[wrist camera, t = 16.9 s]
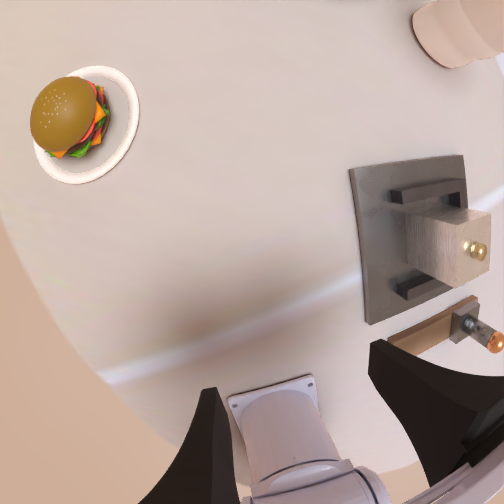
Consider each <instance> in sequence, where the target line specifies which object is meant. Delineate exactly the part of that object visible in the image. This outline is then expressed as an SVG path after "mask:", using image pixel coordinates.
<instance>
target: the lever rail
mask: <svg viewBox="0 0 504 504" xmlns="http://www.w3.org/2000/svg"><path fill="white" fill-rule="evenodd" d="M471 301H475V302H477V303H478V298H477V297H475V296H474V295H472V296H470V297H468V298H466V299H465V300H463V301H461V302H459V303H458V304H456V305H454V306H452V307H450V308H449V309H447V310H445V311H443V312H441V313H439V314H437V315H435V316H433V317H431V318H429V319H427V320H425V321H423V322H421V323H419V324H417V325H415V326H413V327H411V328H409V329H407V330H404V331H402V332H400V333H398V334H396V335H393V336H391V337H389V338H388V342H389V343H391V344H392V345H394V346H396V347H398V348H400V349H402V350H404V351H406V352H408V353H410V354H412V355H414V356H416V355H418V354H420V353H422V352H424V351H426V350H428V349H429V348H431V347H433V346H435V345H437V344H438V343H440V342H442V341H444V340H445V339H447V338H449V337H450V332H451V325H452V318H453V312H454V311H456V310H457V309H459V308H461V307H463V306H464V305H466V304H468V303H469V302H471Z"/></svg>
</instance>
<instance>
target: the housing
mask: <svg viewBox="0 0 504 504" xmlns="http://www.w3.org/2000/svg"><path fill="white" fill-rule="evenodd" d="M405 223H406V237H407V259H408V265H409V266H412V267H414V268H416V269H418V270H420V271H422V272H424V273H426V274H428V275H430V276H432V277H434V278H436V279H438V280H440V281H442V282H444V283H446V284H447V285H449V286H451V287H453V288H457V287H459V286H461V285H463V284H465V283H467V282H469V281H471V280H472V279H474V278H476V277H478V276H480V275H482V274H483V273H485V272H487V271H489V261H490V244H491V214H489V213H485V212H480V211H476V210H471V209H466V208H461V207H456V206H451V205H445V204H437V205H433V206H429V207H425V208H421V209H417V210H413V211H409V212H405Z"/></svg>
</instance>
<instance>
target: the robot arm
mask: <svg viewBox="0 0 504 504" xmlns="http://www.w3.org/2000/svg"><path fill="white" fill-rule="evenodd" d="M368 375H369V377H370V378H371V380H372V382H373V384H374V386H375V388H376V390H377V391H378V392H379V394H380V395H381V397H382V398H383V399H384V401H385V402H386V403H387V405H388V406H389V407H390V409H391V410H392V411H393V413H394V414H395V415H396V417H397V418H398V420H399V421H400V423H401V424H402V426H403V427H404V429H405V431H406V433H407V435H408V436H409V438H410V440H411V442H412V444H413V446H414V448H415V450H416V452H417V455H418V457H419V459H420V462H421V464H422V466H423V469H424V472H425V474H426V477H427V480H428V483H429V486H430V488H429V489H427V490H426V491H424V492H422V493H421V494H419V495H417V496H415V497H414V498H412V499H410V500H408V501H406V502H404V503H402V504H430V503H432V502H433V501H435V500H437V499H438V498H440V497H441V496H443V495H444V494H446V493H447V492H449V493H447V494H446V495H445V496H443V497H442V498H441V499H439V500H438V501H436V502H435V503H434V504H485V503H487V502H488V501H489V500H490V499H491V498H492V497H493V496H494V495H495V494H497V493H498V492H499V491H500V490H501V489H502V488H503V487H504V376H480V375H473V374H467V373H462V372H457V371H453V370H450V369H447V368H443V367H440V366H438V365H435V364H432V363H430V362H427V361H425V360H423V359H420V358H418V357H416V356H414V355H412V354H410V353H408V352H406V351H404V350H402V349H400V348H398V347H396V346H394V345H392V344H391V343H389V342H387V341H385V340H383V339H379V340H377V341H374V342H372V343H370V354H369V367H368ZM309 383H311V384H309ZM308 384H309V385H308ZM228 404H229V407H230V409H231V411H232V414H233V416H234V419H235V421H236V423H237V425H238V428H239V430H240V432H241V434H242V437H243V439H244V441H245V446H246V451H247V457H248V462H249V467H250V472H251V477H252V482H253V484H251V485H250V487H251V492H252V496H253V499H252V497H251V496H248V497H243V499H242V501H241V502H240V501H239V497H238V492H237V487H236V482H235V476H234V465H233V452H232V438H231V430H230V425H229V420H228V415H227V412H226V410H225V407H224V405H223V403H222V400H221V398H220V395H219V393H218V390H217V387H213V388H208V389H203V390H202V391H201V394H200V398H199V402H198V405H197V409H196V412H195V415H194V418H193V420H192V423H191V426H190V428H189V431H188V433H187V435H186V437H185V440H184V442H183V444H182V446H181V448H180V450H179V452H178V454H177V455H176V457H175V459H174V461H173V462H172V464H171V465H170V467H169V468H168V470H167V471H166V473H165V474H164V475H163V477H162V478H161V479H160V481H159V482H158V483H157V484H156V485H155V487H154V488H153V489H152V490H151V491H150V492H149V494H148V495H147V496H145V498H143V499H142V500H141V501H140V502H139V503H138V504H391V501H390V497H389V494H388V492H387V489H386V487H385V485H384V483H383V482H382V480H381V479H380V478H379V476H378V475H377V474H376V473H375V472H374V471H372V470H370V469H367V468H366V467H363V466H359V467H356V468H354V467H353V465H352V463H351V461H350V460H349V459H345V460H342V459H341V457H340V455H339V453H338V451H337V449H336V447H335V445H334V443H333V441H332V439H331V437H330V435H329V433H328V431H327V429H326V427H325V424H324V422H323V420H322V418H321V416H320V414H319V407H318V399H317V391H316V384H315V378H314V376H313V375H307V376H304V377H301V378H298V379H294V380H291V381H288V382H284V383H281V384H278V385H274V386H270V387H267V388H263V389H259V390H256V391H252V392H248V393H244V394H239V395H235V396H231V397H229V398H228ZM233 404H237V405H233Z"/></svg>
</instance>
